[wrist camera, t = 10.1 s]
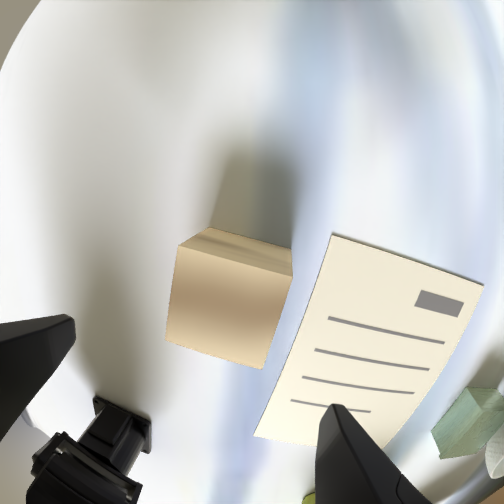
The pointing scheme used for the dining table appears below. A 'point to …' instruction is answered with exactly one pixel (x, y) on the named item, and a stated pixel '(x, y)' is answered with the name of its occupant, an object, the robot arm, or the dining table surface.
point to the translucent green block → (469, 422)
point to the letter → (368, 343)
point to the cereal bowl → (495, 454)
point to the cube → (228, 296)
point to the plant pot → (309, 499)
